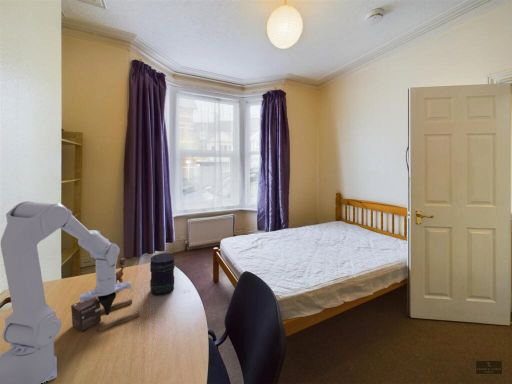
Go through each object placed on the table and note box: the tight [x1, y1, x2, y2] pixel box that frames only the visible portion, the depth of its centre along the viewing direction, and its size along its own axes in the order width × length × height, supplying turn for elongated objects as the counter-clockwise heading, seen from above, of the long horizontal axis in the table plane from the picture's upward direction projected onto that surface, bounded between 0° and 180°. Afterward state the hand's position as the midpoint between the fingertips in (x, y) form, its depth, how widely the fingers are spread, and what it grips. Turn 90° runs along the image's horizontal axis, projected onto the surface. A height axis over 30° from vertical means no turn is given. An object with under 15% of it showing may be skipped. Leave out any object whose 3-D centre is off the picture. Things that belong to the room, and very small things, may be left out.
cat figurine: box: [94, 255, 127, 289], centre depth 91 cm, size 18×7×14 cm, turn 158°
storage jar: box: [149, 252, 176, 297], centre depth 96 cm, size 10×10×15 cm
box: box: [70, 298, 102, 333], centre depth 73 cm, size 6×6×7 cm
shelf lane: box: [97, 298, 140, 332], centre depth 79 cm, size 12×11×2 cm
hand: (106, 313), depth 77 cm, fingers closed
